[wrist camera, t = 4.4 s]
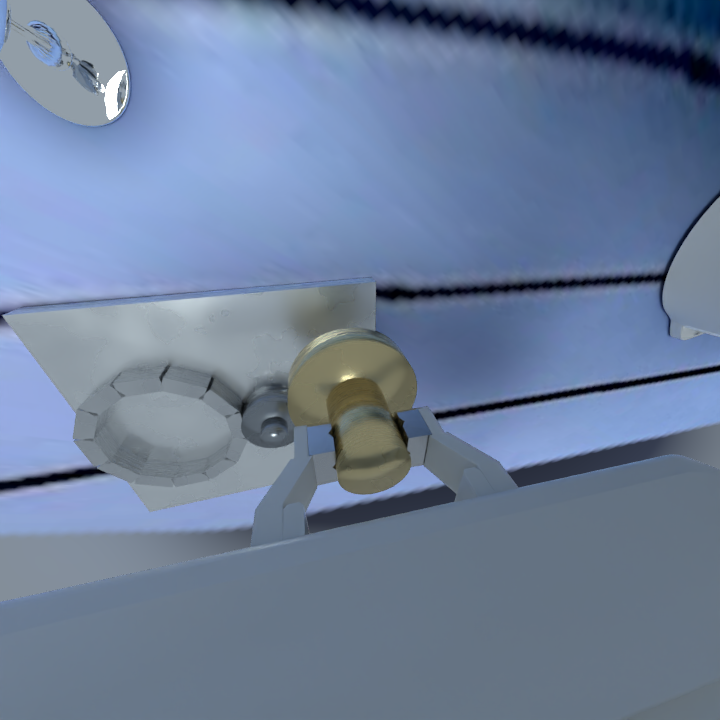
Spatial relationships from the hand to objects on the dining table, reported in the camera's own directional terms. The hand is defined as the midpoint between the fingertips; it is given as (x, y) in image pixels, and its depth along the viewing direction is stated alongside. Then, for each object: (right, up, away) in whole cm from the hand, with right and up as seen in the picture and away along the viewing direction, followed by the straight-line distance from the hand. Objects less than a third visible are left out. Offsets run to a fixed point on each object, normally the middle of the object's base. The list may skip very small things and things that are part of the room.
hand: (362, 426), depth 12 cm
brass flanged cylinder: (-1, +2, +3) cm, 3 cm away
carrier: (-9, 0, +10) cm, 13 cm away
